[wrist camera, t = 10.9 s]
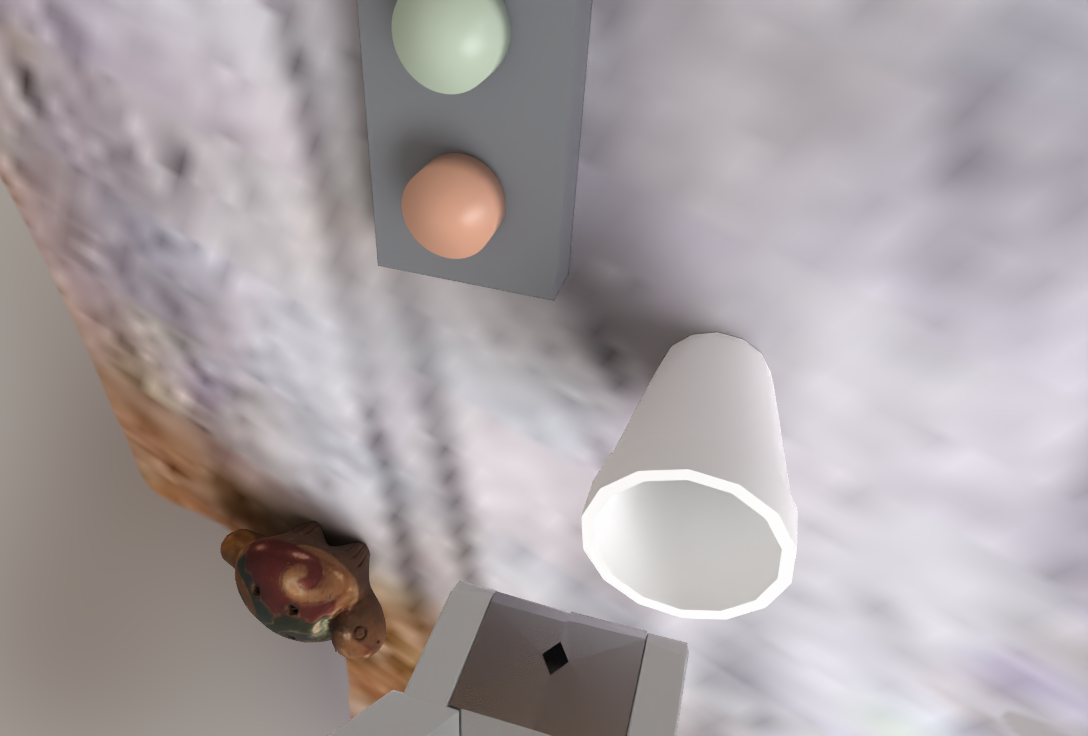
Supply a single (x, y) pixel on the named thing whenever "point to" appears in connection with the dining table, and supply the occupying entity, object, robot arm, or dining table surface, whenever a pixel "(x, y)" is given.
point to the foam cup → (698, 488)
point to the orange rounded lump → (453, 205)
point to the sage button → (451, 41)
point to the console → (485, 143)
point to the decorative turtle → (308, 588)
